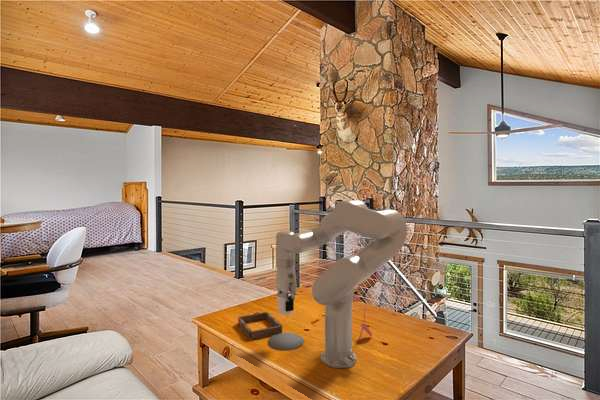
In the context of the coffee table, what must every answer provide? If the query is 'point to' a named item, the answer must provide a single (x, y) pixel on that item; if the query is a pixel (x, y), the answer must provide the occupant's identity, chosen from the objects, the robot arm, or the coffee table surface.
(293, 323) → the coffee table surface
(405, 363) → the coffee table surface
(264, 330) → the brown rectangular frame
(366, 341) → the coffee table surface
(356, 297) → the figurine
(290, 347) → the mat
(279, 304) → the white cylinder
